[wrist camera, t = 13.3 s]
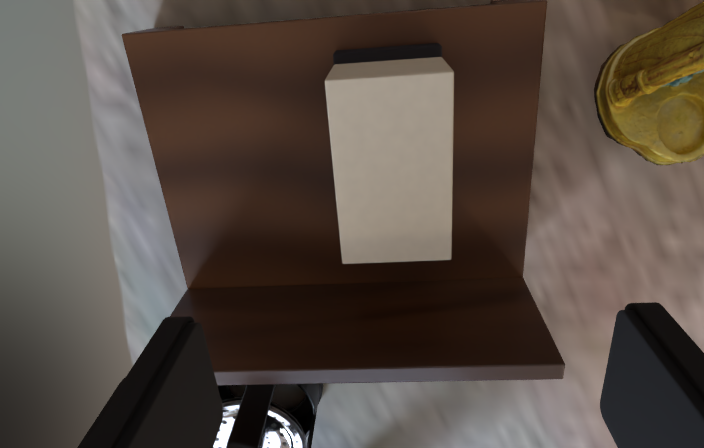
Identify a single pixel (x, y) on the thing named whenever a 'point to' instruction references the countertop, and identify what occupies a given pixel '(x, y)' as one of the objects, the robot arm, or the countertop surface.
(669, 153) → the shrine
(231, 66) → the shoe shelf
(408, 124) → the beige cuboid
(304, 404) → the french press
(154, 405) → the robot arm
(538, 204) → the countertop surface
